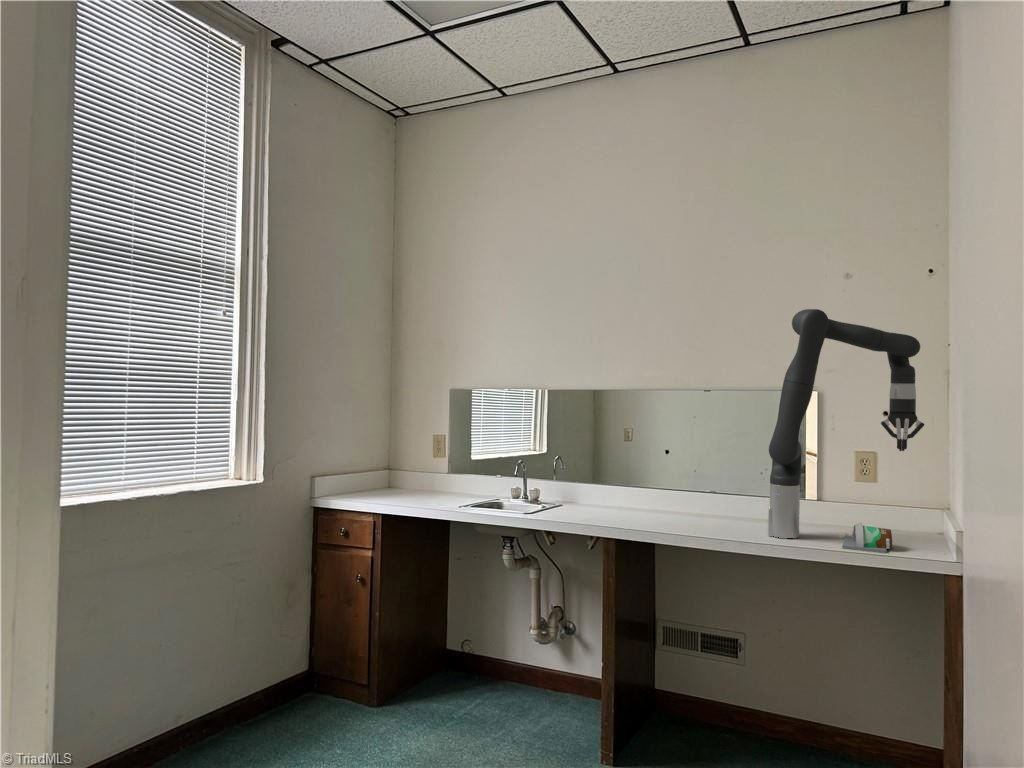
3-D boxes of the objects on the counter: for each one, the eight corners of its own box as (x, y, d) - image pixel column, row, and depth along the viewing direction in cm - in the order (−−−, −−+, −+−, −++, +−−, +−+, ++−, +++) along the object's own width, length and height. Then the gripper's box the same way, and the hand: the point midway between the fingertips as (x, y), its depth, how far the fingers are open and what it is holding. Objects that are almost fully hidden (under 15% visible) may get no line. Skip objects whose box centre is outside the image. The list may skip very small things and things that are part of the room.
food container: (893, 529, 213) (856, 526, 216) (893, 550, 213) (856, 546, 216) (888, 522, 224) (853, 519, 228) (887, 541, 224) (852, 538, 228)
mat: (842, 548, 218) (842, 545, 218) (845, 538, 232) (845, 535, 232) (886, 553, 212) (886, 550, 212) (886, 542, 226) (886, 540, 226)
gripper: (879, 397, 230) (878, 450, 230) (926, 398, 224) (925, 453, 224) (879, 397, 237) (879, 448, 237) (925, 397, 230) (924, 451, 231)
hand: (901, 450), depth 230 cm, fingers closed
